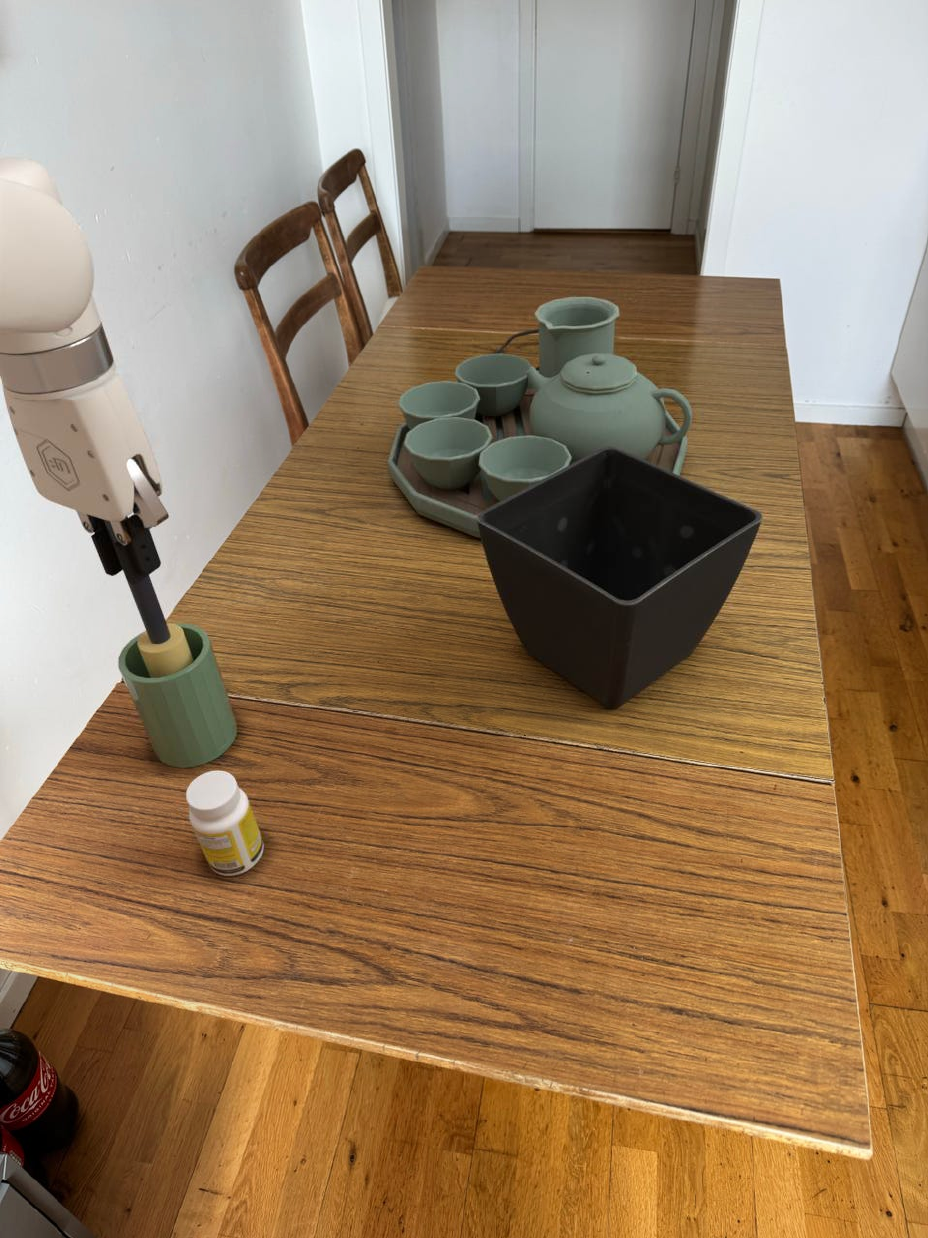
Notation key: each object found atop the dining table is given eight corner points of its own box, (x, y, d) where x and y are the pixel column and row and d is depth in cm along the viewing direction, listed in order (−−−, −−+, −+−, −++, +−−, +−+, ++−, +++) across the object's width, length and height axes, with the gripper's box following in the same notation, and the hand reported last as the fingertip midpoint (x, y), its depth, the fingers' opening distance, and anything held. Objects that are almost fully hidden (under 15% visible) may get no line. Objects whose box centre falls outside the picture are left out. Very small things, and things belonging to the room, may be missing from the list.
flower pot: (744, 651, 90) (769, 510, 80) (620, 749, 81) (629, 605, 71) (603, 574, 102) (608, 442, 91) (481, 652, 93) (470, 516, 82)
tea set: (393, 411, 138) (380, 305, 127) (652, 390, 137) (660, 282, 127) (387, 560, 107) (368, 436, 96) (720, 534, 106) (737, 407, 96)
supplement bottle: (247, 821, 78) (224, 756, 72) (274, 855, 75) (253, 789, 70) (197, 852, 76) (170, 788, 70) (223, 888, 73) (197, 823, 67)
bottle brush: (194, 701, 81) (130, 525, 69) (151, 702, 81) (80, 528, 69) (205, 671, 84) (145, 498, 72) (163, 672, 84) (97, 500, 72)
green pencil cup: (227, 766, 83) (196, 680, 76) (143, 769, 83) (105, 684, 76) (245, 705, 89) (218, 621, 82) (167, 708, 90) (134, 624, 83)
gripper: (-61, 361, 63) (36, 570, 75) (88, 400, 56) (169, 624, 68) (26, 323, 68) (105, 525, 80) (174, 355, 61) (236, 571, 73)
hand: (134, 569), depth 74 cm, fingers closed on bottle brush
